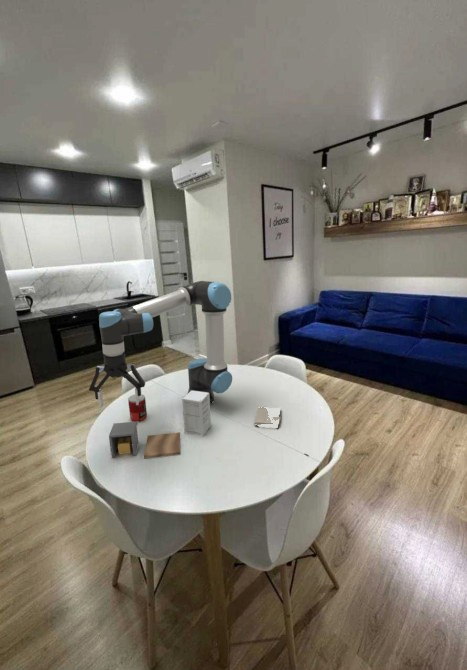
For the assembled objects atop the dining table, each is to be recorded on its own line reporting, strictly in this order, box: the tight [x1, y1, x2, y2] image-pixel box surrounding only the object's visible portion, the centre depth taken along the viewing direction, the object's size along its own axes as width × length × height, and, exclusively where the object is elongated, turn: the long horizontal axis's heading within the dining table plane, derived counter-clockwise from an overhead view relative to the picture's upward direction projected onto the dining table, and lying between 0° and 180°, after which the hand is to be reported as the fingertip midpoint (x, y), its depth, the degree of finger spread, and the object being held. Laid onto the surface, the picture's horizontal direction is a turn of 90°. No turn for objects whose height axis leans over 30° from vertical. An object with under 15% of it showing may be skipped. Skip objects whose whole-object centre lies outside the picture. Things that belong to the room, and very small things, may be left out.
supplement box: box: [181, 390, 212, 437], centre depth 136 cm, size 10×9×17 cm
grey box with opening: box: [108, 421, 139, 459], centre depth 122 cm, size 9×9×10 cm
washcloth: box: [254, 406, 279, 425], centre depth 146 cm, size 12×18×3 cm, turn 170°
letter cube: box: [117, 437, 133, 455], centre depth 123 cm, size 4×4×5 cm
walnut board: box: [143, 431, 181, 459], centre depth 126 cm, size 14×14×1 cm
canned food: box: [127, 393, 148, 423], centre depth 146 cm, size 8×8×11 cm
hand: (119, 404), depth 118 cm, fingers open, 13 cm apart
